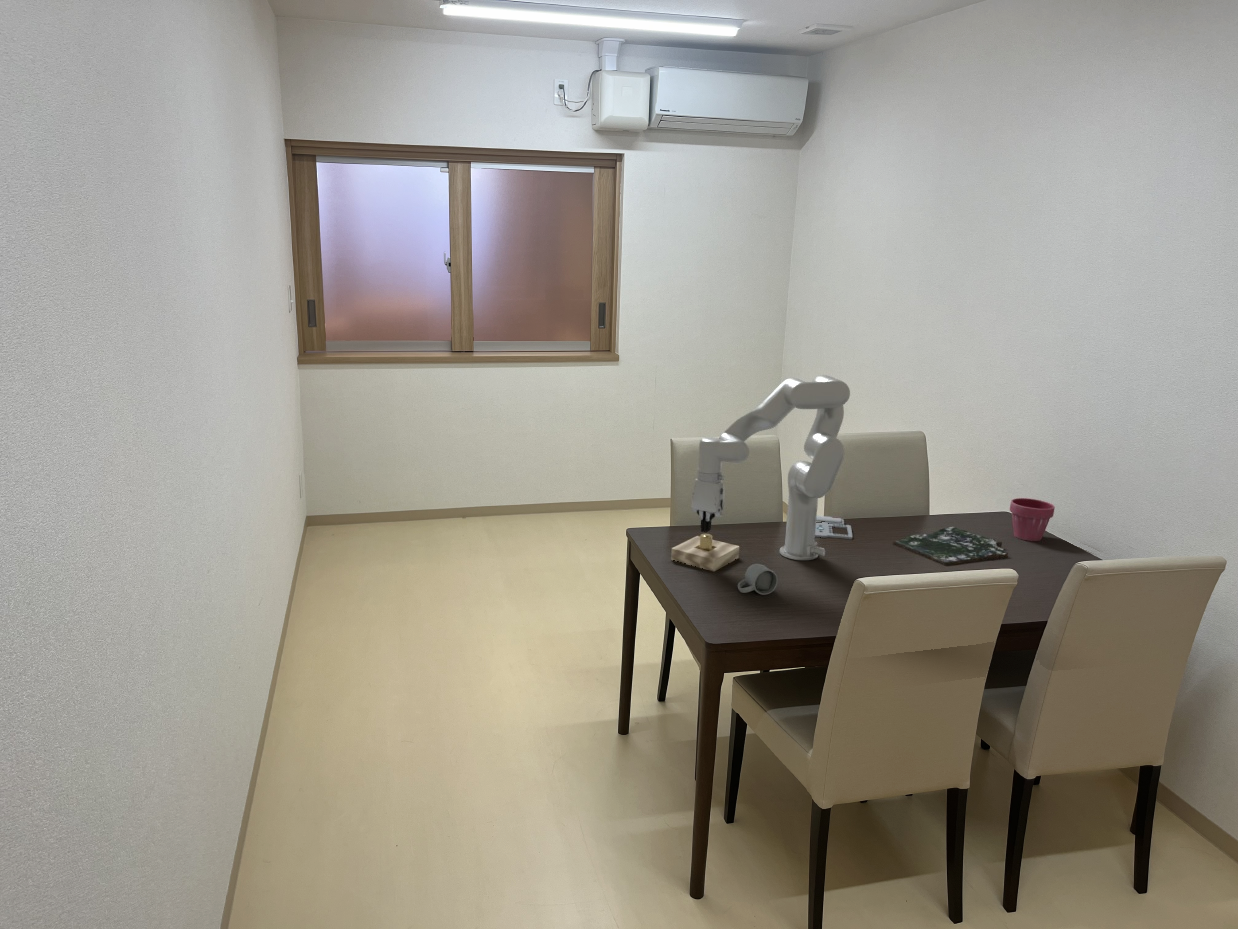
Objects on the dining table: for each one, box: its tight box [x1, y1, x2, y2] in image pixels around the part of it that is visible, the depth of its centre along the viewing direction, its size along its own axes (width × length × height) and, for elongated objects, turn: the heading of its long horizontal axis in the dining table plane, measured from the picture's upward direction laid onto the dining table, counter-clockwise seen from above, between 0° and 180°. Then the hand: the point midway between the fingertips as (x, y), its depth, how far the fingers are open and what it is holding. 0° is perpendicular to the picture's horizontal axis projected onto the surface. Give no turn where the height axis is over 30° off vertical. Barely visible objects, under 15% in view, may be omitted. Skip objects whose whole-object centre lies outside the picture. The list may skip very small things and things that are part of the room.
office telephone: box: [815, 515, 853, 540], centre depth 314 cm, size 23×3×20 cm
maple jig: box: [670, 535, 740, 572], centre depth 279 cm, size 16×16×4 cm
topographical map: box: [892, 526, 1009, 566], centre depth 295 cm, size 26×33×3 cm
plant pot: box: [1009, 497, 1055, 542], centre depth 308 cm, size 14×14×13 cm
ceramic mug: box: [737, 563, 778, 595], centre depth 254 cm, size 11×8×8 cm
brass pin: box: [699, 533, 714, 551], centre depth 278 cm, size 4×4×8 cm
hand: (705, 531), depth 277 cm, fingers closed
